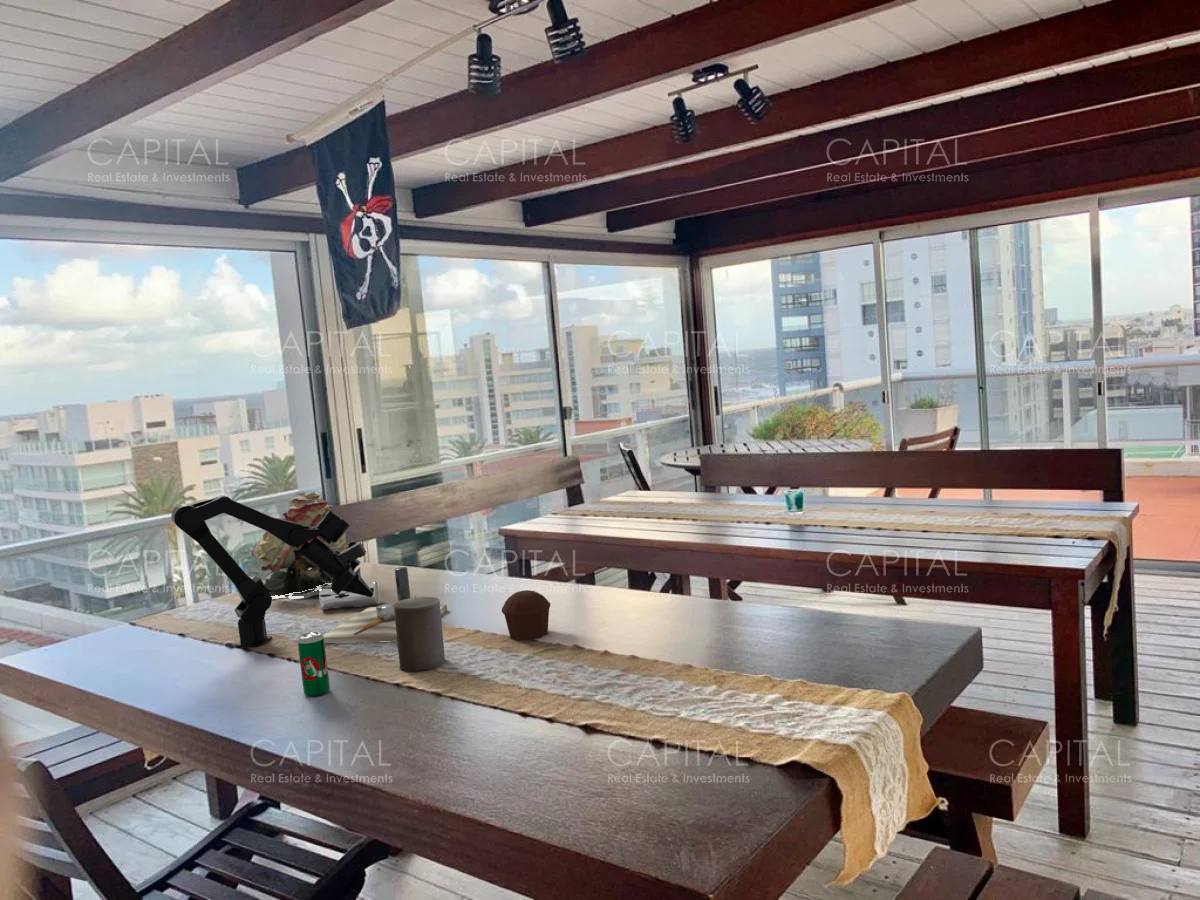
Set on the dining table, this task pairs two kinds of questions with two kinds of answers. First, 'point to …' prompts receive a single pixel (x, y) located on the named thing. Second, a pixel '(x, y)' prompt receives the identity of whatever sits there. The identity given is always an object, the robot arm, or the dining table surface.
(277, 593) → the rose bouquet
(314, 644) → the soda can
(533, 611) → the muffin
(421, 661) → the pillar candle
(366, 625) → the cam lever
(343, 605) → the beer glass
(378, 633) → the dial board
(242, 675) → the dining table surface
